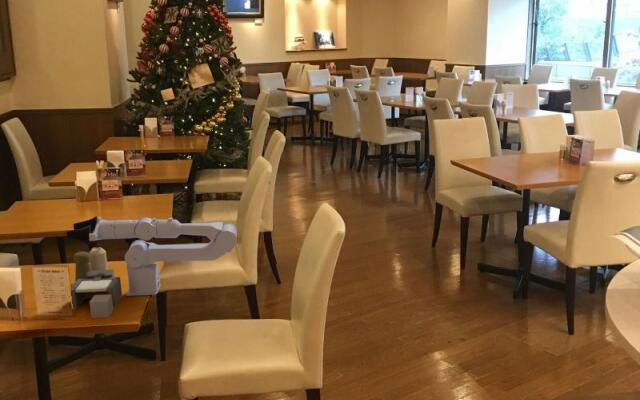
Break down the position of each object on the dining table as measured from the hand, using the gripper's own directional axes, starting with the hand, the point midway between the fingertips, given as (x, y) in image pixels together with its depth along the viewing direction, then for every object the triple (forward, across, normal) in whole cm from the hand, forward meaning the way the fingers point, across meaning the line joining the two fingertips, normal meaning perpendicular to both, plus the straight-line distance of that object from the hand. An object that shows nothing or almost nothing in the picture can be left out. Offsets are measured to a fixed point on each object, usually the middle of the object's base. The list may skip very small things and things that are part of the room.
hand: (70, 230), depth 202 cm
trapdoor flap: (-8, +5, +17) cm, 20 cm away
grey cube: (-11, +16, +21) cm, 29 cm away
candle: (-4, -15, +22) cm, 27 cm away
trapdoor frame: (-8, +7, +21) cm, 23 cm away
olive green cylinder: (0, -8, +22) cm, 23 cm away
